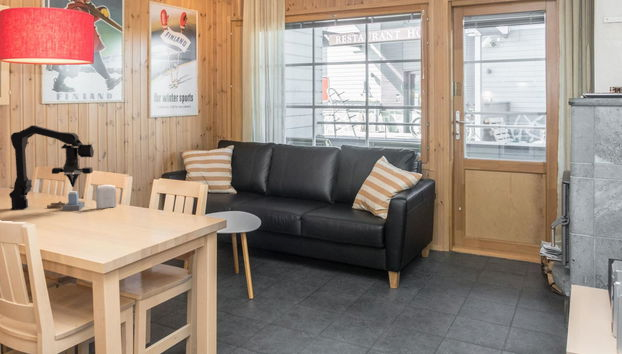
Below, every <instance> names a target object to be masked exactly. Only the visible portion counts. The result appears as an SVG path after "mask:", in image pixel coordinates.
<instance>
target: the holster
mask: <svg viewBox="0 0 622 354" xmlns="http://www.w3.org/2000/svg"><path fill="white" fill-rule="evenodd" d="M65 204H66V202H62V201H60V200H59V201H58V202H51V203H50V204H47V205H46V209H63V207H62V206H63V205H65Z"/></svg>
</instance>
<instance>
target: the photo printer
mask: <svg viewBox="0 0 622 354" xmlns="http://www.w3.org/2000/svg"><path fill="white" fill-rule="evenodd" d="M95 200H96V201H95V202H96V203H95V204H96V209H97V210H98V209H99V210H100V209H109V208H116V207H117V188H116V185H114V184H101V185H99V186H96V188H95Z"/></svg>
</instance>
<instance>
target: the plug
mask: <svg viewBox="0 0 622 354" xmlns="http://www.w3.org/2000/svg"><path fill="white" fill-rule="evenodd" d="M67 199H68V200H67V203H68V202H69V205H78V204H79V202H80V201H79V192H78V191H77V190H72V191H71V190H70V191H69V192H68V194H67Z"/></svg>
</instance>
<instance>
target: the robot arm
mask: <svg viewBox="0 0 622 354" xmlns="http://www.w3.org/2000/svg"><path fill="white" fill-rule="evenodd" d="M34 135H39V136H44V137H47V138H51V139H56V140H57V141H60V142H61V143H63V145H62V146H61V147H60V149H65V163H64V165H63V166H61V167H60V166H59V167H58V166H55V167H53V168H51V174H52V175H56V174H57V175H59V174H60V173H63V175H64V176H66V177H67V178H68V180H69V183H70V184H71V187H72V188H74V187H75V185H76V183H77V179H78V177H80V175H82V173H83V174H85V175H86V174H93V168H92V167H90V166H84V167H82V168H80V165H79V157H80V158H94V155H95V153H94V150H95V149H94V148H93V144H90V143H88V144H83V142H82V141H81V139H80V138H79V136H78V134H77V133H75V132H68V131H67V132H64V131H58V130H54V129H50V128H46V127H42V126H39V125H36V124H35V125H33V124H32V125H30V126H29V127H27V128H24V129H22V130H20V131H17V132H12V134H10V142H11V144H12V147H13V149H14V155H15V157H14V158H15V168H16V169H15V171H16V178H15V181H14V185H13V190H12V191H11V192H10V193H8V196H9V198H10V199H11V200H10V201H11V202H10V203H11V208H10V210H25V209H27V208H29V201H28V198H27V195H28V193H29V192H30V191H31V190H32V188H33V185H32V179H29V178H28V176H27V175H28V174H27V158H26V156H27V155H26V148H27V145H28V141H29V138H31V137H32V136H34Z"/></svg>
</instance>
